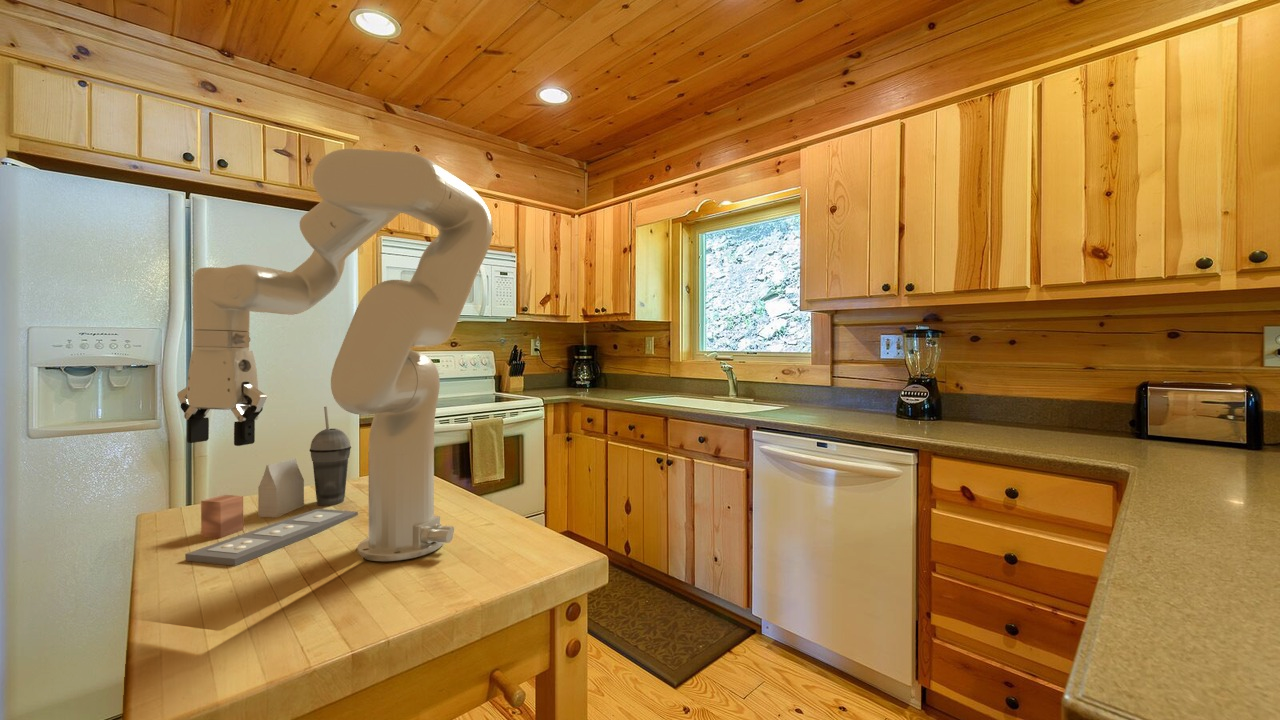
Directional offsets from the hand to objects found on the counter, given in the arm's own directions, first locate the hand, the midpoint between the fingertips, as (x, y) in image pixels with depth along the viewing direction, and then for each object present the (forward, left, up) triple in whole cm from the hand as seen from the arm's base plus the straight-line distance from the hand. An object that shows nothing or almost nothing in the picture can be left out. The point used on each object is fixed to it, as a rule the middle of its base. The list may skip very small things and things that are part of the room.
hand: (220, 443), depth 91 cm
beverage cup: (-5, -18, -16) cm, 24 cm away
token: (0, 0, -15) cm, 15 cm away
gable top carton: (0, -12, -16) cm, 19 cm away
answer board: (-11, -1, -15) cm, 19 cm away
